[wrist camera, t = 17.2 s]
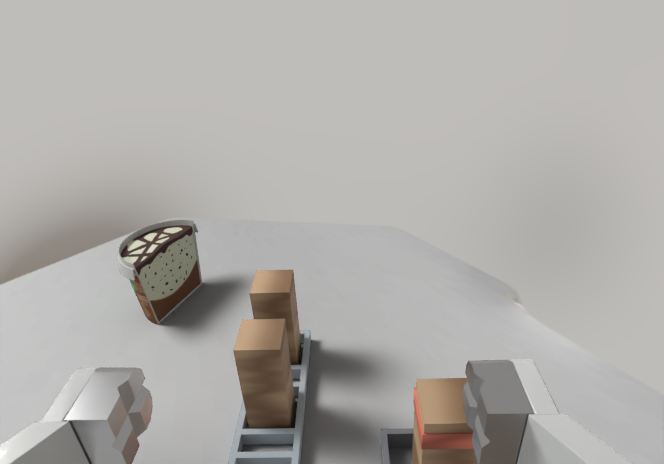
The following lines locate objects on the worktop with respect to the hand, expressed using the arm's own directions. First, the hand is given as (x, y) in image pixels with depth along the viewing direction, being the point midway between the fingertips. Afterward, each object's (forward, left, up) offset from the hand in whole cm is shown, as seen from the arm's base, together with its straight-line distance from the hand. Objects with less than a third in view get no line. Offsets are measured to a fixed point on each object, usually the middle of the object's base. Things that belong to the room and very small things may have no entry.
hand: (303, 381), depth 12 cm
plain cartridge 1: (-7, +31, -30) cm, 44 cm away
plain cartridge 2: (-7, +23, -30) cm, 39 cm away
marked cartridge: (+8, +15, -29) cm, 34 cm away
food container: (-25, +43, -30) cm, 58 cm away
